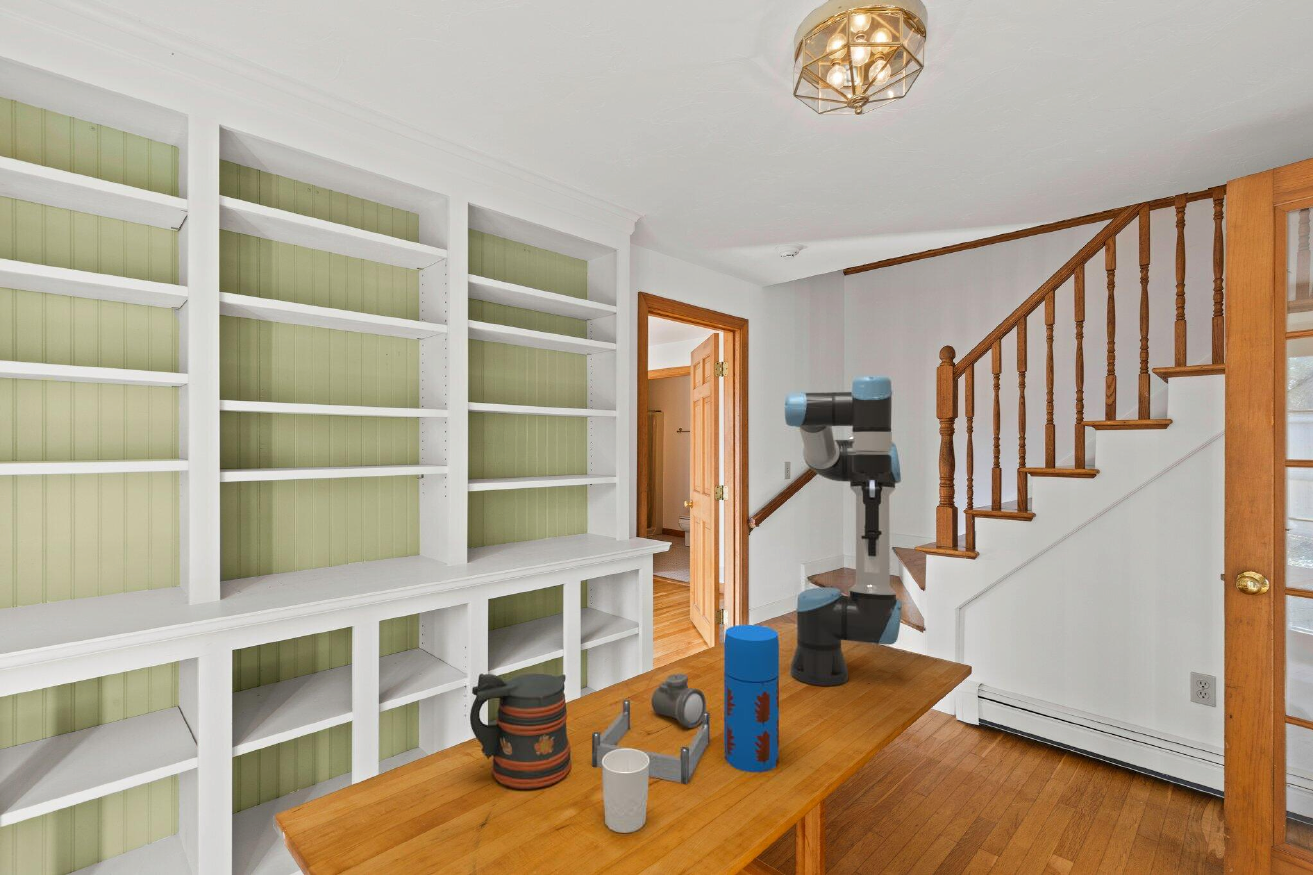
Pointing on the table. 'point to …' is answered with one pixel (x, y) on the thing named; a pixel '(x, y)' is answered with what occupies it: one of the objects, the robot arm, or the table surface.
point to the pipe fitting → (679, 701)
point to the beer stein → (524, 729)
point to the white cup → (625, 789)
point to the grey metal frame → (658, 763)
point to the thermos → (751, 697)
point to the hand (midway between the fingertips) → (871, 569)
